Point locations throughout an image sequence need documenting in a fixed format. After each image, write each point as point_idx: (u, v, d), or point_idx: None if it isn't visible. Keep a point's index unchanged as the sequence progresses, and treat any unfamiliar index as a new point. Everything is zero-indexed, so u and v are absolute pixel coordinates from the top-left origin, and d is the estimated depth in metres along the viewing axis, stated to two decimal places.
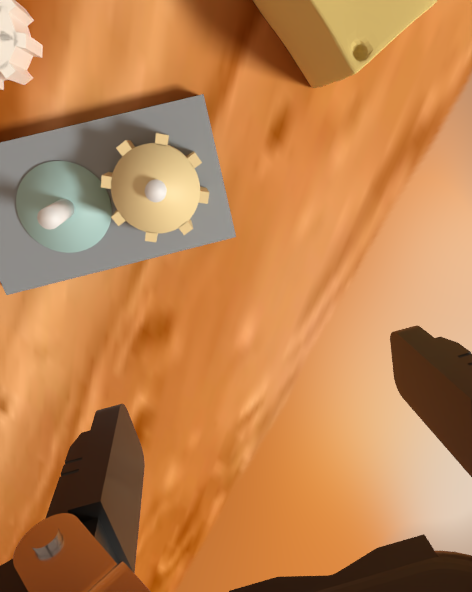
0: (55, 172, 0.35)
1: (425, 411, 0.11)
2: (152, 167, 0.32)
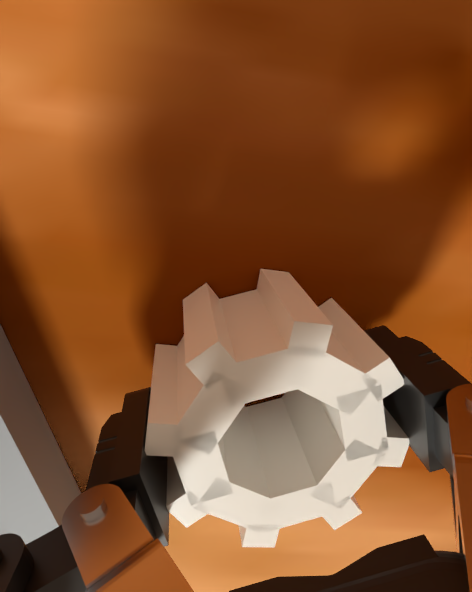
0: None
1: (389, 408, 0.12)
2: None
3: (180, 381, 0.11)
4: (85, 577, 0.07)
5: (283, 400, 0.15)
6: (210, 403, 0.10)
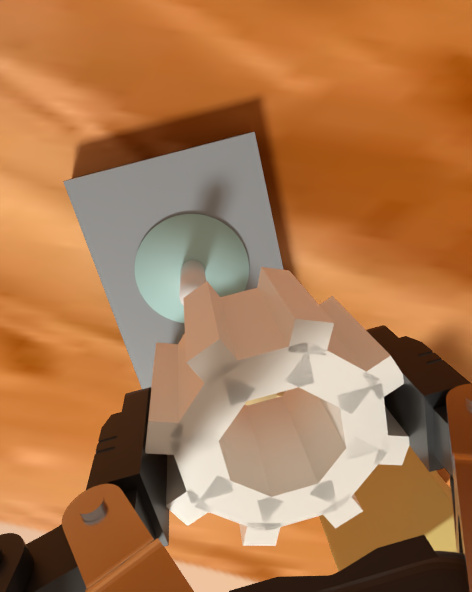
0: (236, 264, 0.29)
1: (389, 408, 0.12)
2: None
3: (181, 379, 0.11)
4: (85, 576, 0.07)
5: (284, 399, 0.14)
6: (211, 401, 0.10)
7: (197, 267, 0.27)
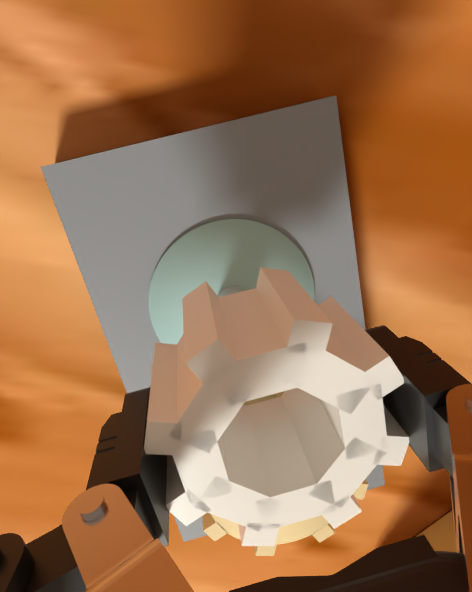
0: None
1: (389, 408, 0.12)
2: None
3: (179, 380, 0.11)
4: (85, 576, 0.07)
5: (283, 399, 0.14)
6: (209, 401, 0.10)
7: None
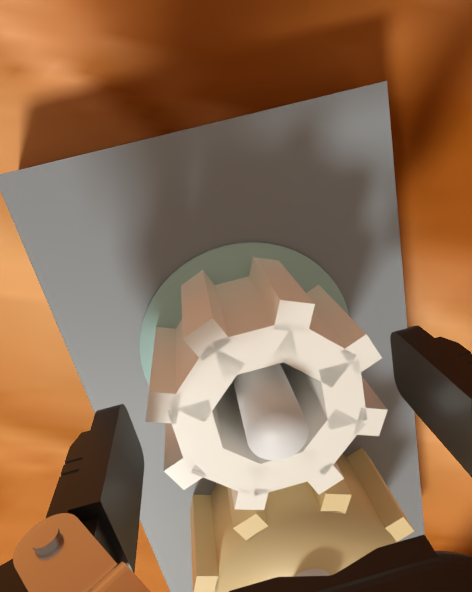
0: None
1: (425, 411, 0.11)
2: None
3: (178, 358, 0.12)
4: None
5: None
6: (205, 374, 0.11)
7: None
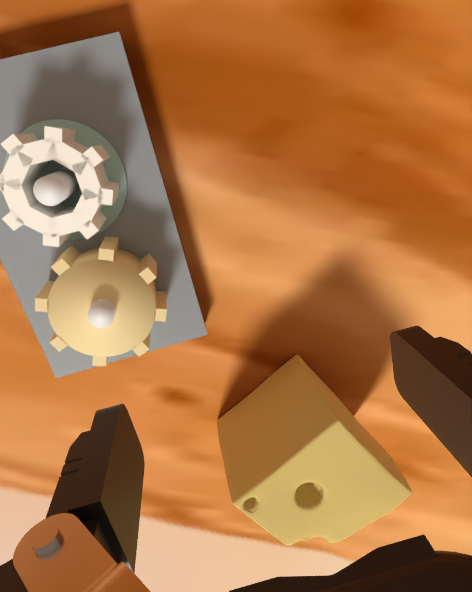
0: (112, 176, 0.28)
1: (425, 411, 0.11)
2: (128, 306, 0.28)
3: None
4: None
5: None
6: (14, 164, 0.23)
7: (64, 172, 0.26)
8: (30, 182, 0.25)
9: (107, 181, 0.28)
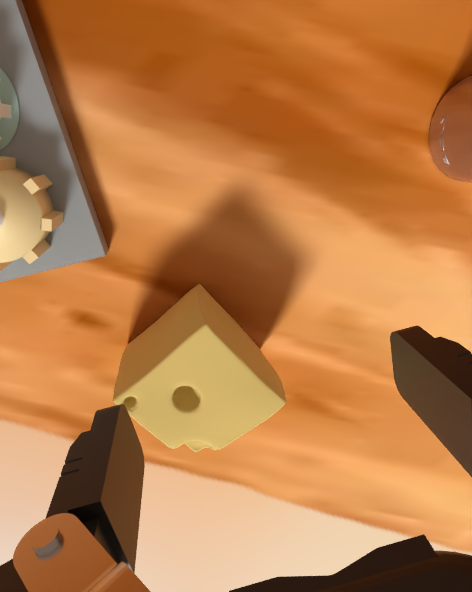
0: (4, 98, 0.31)
1: (425, 411, 0.11)
2: (15, 214, 0.31)
3: None
4: None
5: None
6: None
7: None
8: None
9: None
